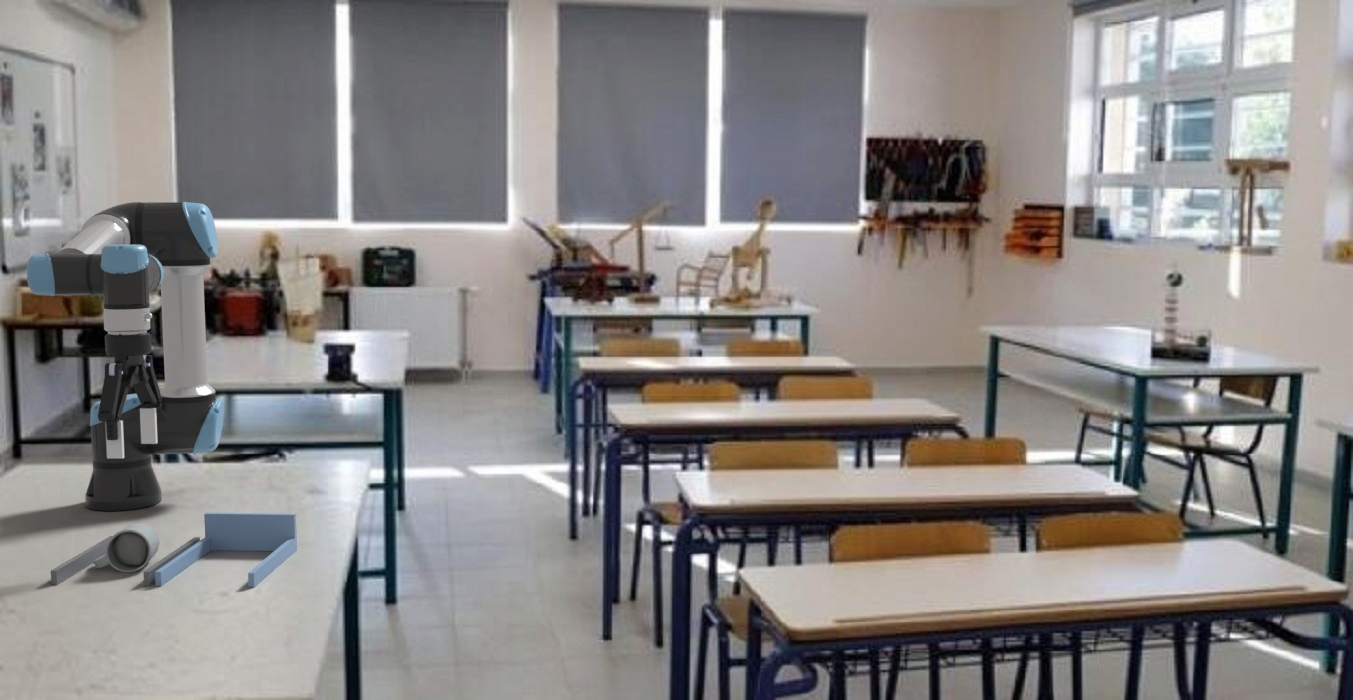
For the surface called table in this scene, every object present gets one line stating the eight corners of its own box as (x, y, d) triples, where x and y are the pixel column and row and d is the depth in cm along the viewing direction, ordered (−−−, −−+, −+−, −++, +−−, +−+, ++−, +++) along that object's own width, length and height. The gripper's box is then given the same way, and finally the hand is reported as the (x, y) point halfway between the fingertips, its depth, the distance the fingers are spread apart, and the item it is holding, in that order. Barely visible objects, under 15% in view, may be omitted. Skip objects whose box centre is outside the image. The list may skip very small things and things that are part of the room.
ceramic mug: (162, 558, 232) (160, 517, 231) (151, 571, 224) (149, 529, 223) (101, 562, 230) (98, 521, 229) (88, 575, 222) (85, 532, 221)
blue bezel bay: (207, 548, 238) (206, 512, 237) (297, 549, 238) (295, 513, 237) (155, 586, 215) (153, 546, 215) (254, 587, 215) (252, 547, 214)
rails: (110, 548, 238) (110, 536, 237) (200, 550, 237) (199, 537, 237) (51, 584, 216) (50, 570, 215) (149, 586, 215) (149, 571, 215)
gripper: (116, 339, 210) (122, 464, 212) (177, 325, 235) (182, 438, 237) (72, 339, 210) (78, 464, 212) (137, 325, 235) (142, 437, 237)
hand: (133, 450), depth 225 cm, fingers open, 13 cm apart
